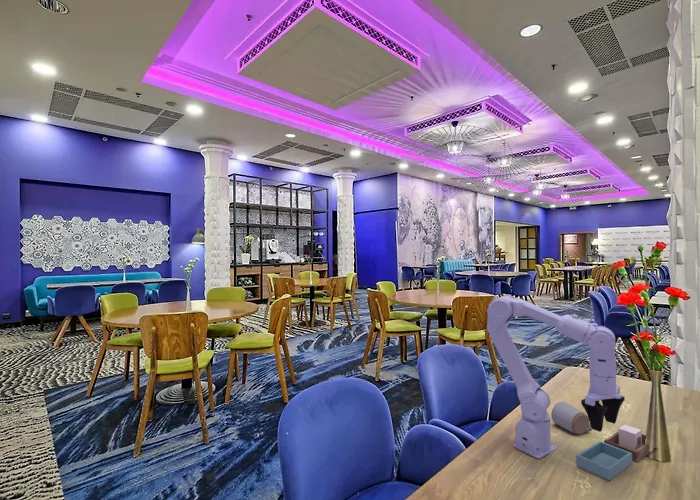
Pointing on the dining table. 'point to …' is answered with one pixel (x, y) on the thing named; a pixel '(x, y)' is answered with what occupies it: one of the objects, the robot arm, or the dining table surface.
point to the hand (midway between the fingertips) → (603, 425)
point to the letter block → (630, 437)
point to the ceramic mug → (570, 418)
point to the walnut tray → (636, 455)
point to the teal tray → (603, 460)
